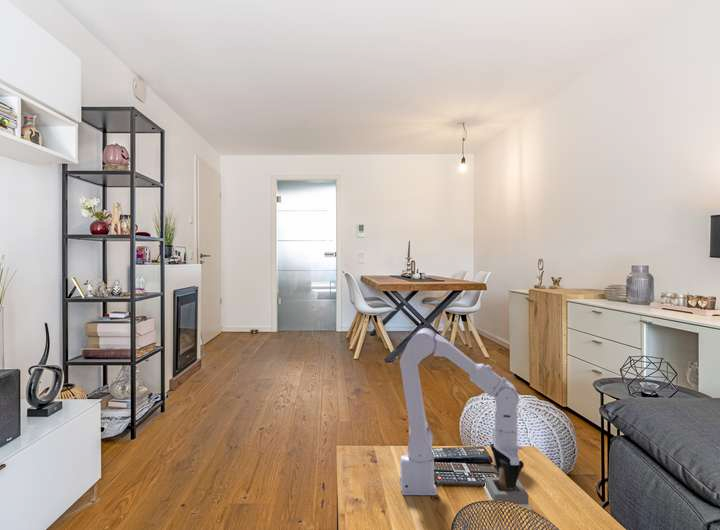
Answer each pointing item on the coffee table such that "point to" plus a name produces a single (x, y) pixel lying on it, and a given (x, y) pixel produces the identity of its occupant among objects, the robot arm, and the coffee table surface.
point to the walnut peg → (502, 481)
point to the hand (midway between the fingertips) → (505, 479)
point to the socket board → (506, 493)
